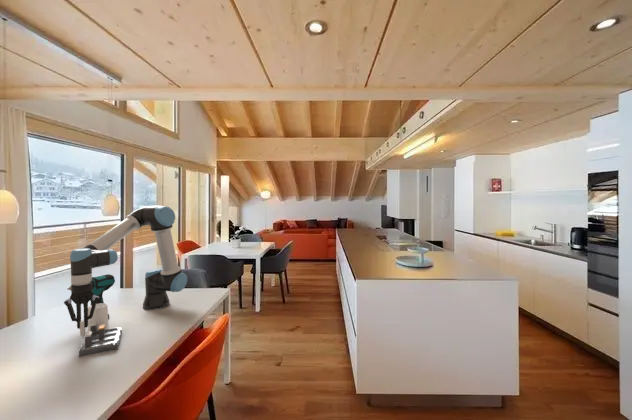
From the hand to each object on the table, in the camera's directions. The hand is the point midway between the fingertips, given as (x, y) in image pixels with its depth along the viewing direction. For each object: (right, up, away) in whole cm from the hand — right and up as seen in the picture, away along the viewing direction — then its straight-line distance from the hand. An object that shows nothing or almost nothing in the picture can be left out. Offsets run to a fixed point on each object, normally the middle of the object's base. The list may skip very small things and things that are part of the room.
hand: (82, 334), depth 139 cm
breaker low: (0, -3, +7) cm, 8 cm away
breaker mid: (+6, -3, +3) cm, 8 cm away
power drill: (-17, -5, +29) cm, 35 cm away
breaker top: (+6, -3, -4) cm, 8 cm away
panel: (+6, -6, +4) cm, 9 cm away
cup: (-3, -6, +15) cm, 16 cm away
